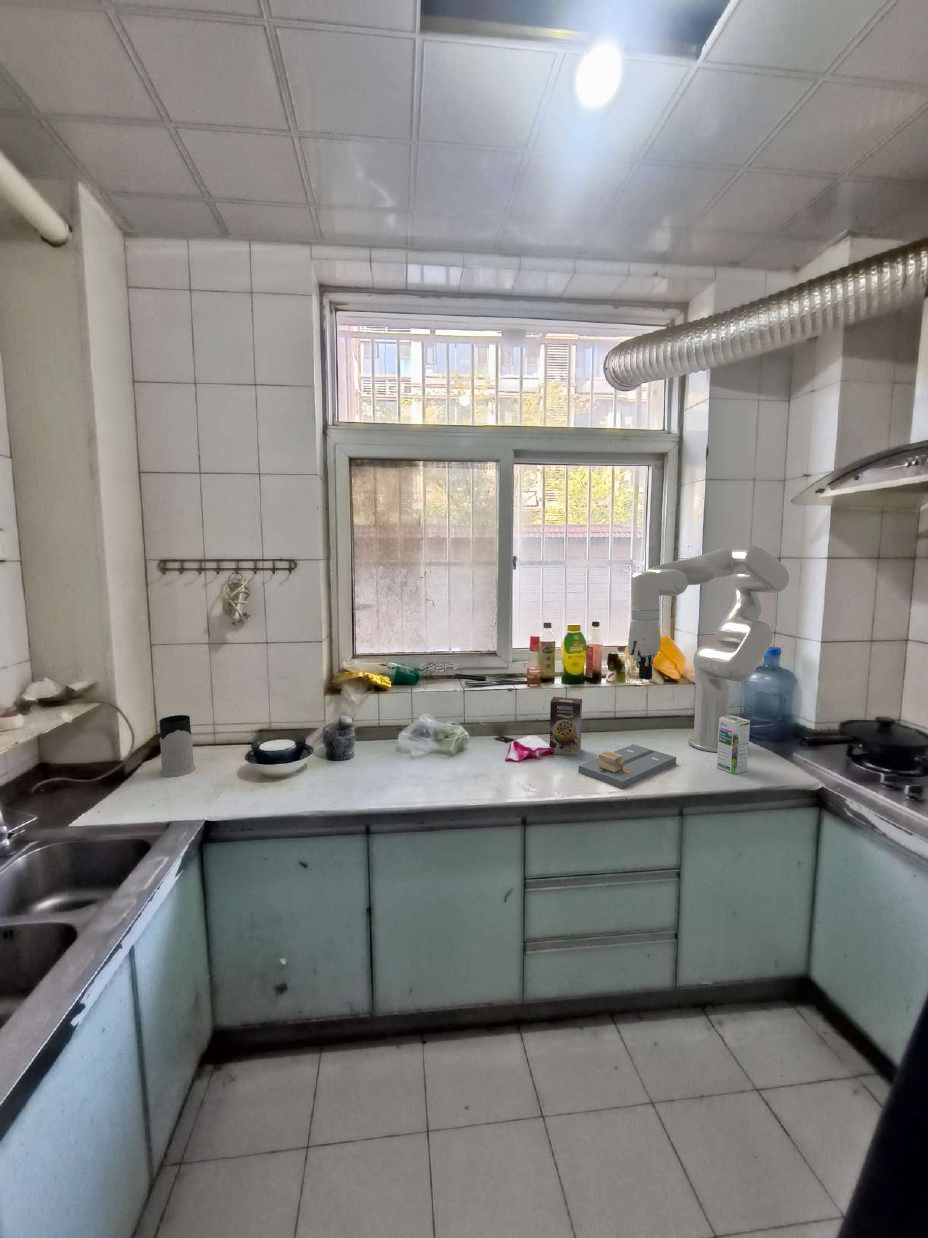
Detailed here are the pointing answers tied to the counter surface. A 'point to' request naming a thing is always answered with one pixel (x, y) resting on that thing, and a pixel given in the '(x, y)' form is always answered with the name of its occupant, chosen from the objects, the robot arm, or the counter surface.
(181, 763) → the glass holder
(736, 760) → the syrup box
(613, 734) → the counter surface
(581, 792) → the counter surface
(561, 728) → the cookie box
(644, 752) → the board
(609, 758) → the block
